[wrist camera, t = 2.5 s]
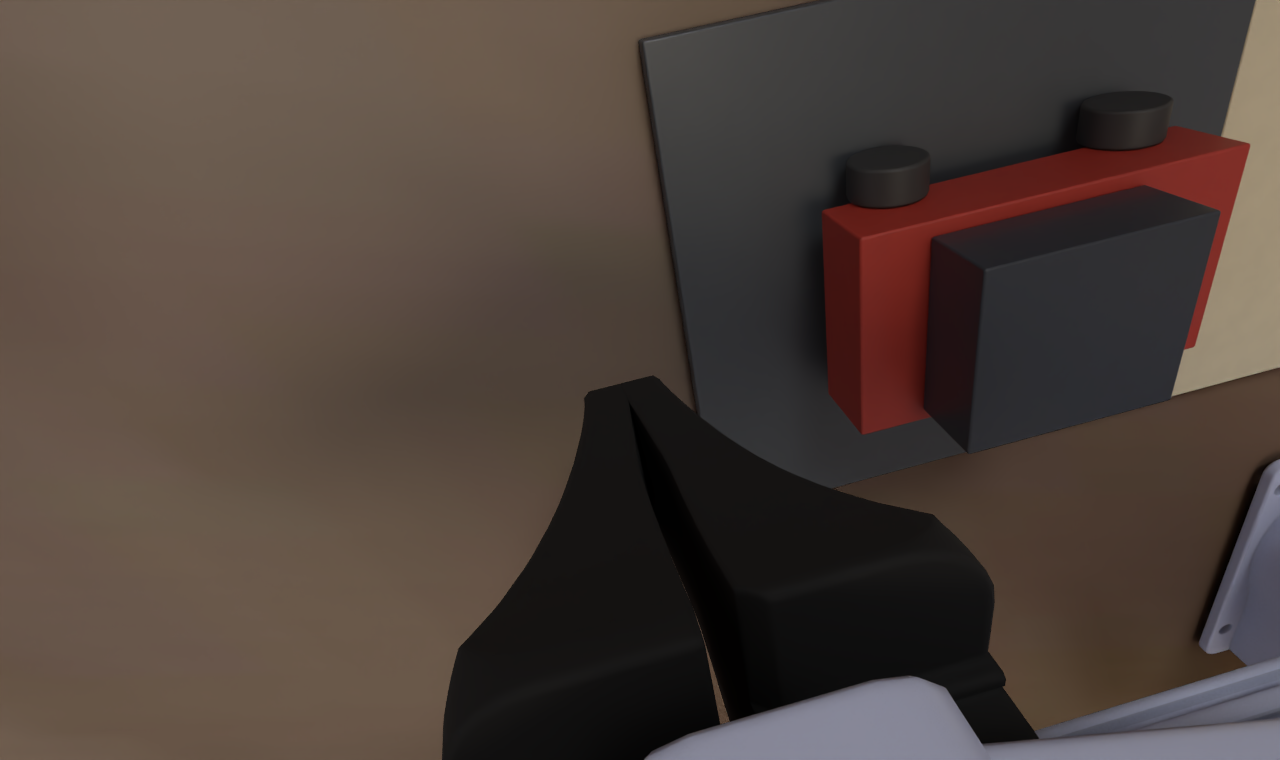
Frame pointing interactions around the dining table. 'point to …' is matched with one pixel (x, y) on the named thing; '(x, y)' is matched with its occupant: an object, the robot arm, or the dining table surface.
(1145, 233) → the toy car
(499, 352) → the dining table surface
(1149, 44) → the road board
